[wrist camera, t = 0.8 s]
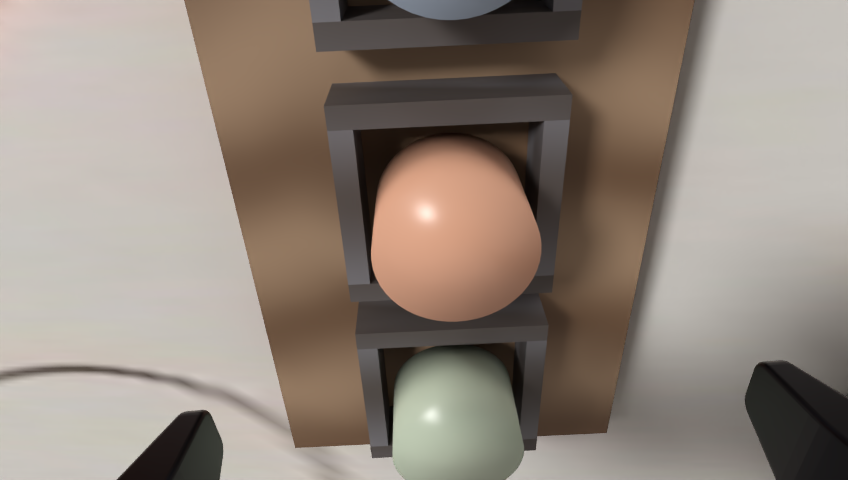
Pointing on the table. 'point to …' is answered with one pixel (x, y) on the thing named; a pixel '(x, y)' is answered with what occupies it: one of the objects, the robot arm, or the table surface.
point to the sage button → (455, 416)
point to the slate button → (449, 8)
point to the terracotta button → (453, 229)
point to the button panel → (417, 118)
